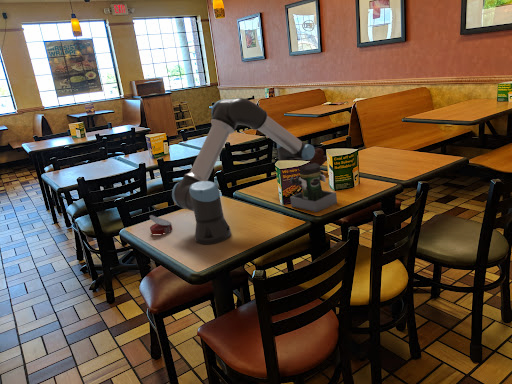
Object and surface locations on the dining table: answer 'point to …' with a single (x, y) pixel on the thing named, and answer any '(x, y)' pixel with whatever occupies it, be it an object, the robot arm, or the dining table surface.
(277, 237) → the dining table surface
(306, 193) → the coffee jar
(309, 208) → the open box
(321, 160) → the ice cream bowl
